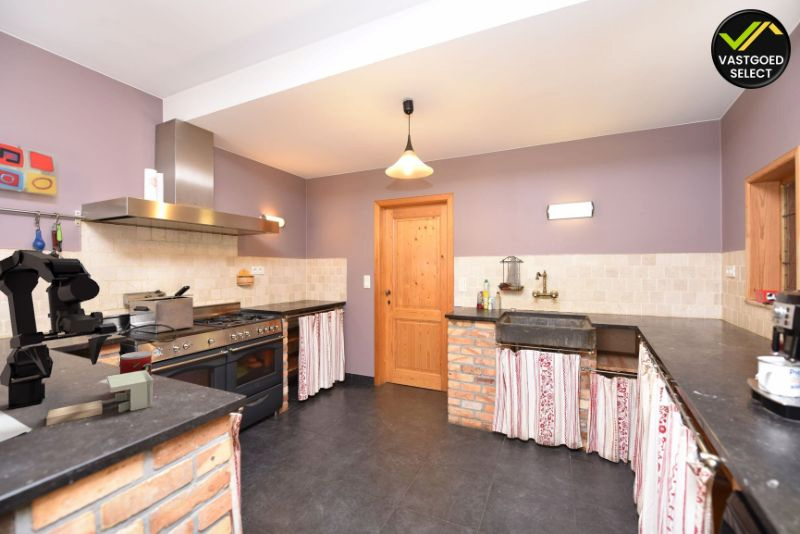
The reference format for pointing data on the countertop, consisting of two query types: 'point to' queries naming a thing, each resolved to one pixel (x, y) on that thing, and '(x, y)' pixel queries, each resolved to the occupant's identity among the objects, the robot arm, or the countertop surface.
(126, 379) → the pale green angular bracket
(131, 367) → the canned food
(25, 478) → the countertop surface
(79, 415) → the panel
